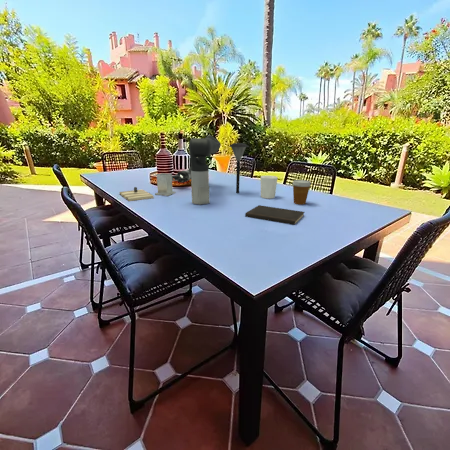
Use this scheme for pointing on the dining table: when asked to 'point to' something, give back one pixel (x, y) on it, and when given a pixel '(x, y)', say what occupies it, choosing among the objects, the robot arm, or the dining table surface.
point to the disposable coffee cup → (300, 191)
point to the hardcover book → (275, 214)
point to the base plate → (136, 195)
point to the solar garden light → (238, 159)
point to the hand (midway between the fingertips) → (172, 180)
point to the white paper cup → (268, 186)
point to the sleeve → (164, 184)
